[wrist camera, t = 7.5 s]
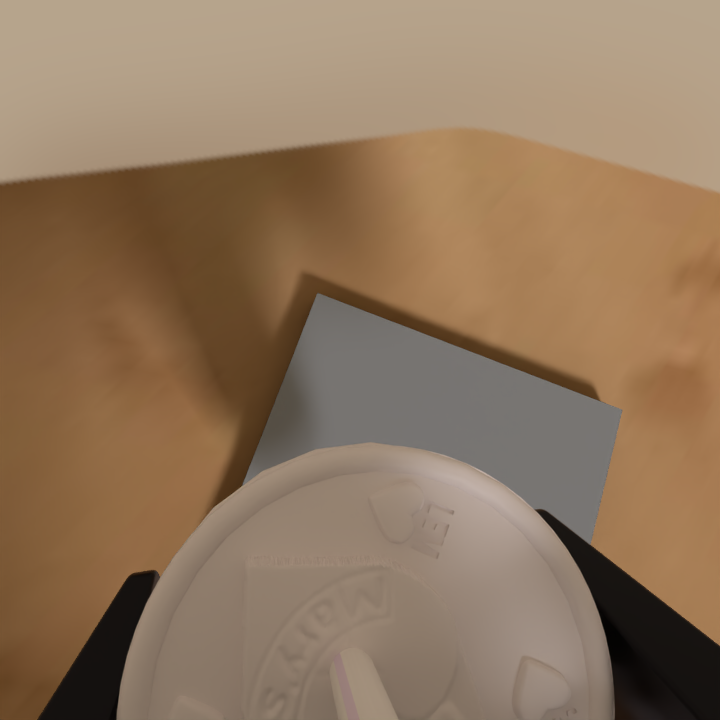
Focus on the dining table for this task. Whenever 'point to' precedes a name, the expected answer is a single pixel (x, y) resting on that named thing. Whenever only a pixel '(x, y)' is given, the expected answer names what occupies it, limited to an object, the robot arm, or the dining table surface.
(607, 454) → the slate trivet
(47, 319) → the dining table surface
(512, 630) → the smoothie
